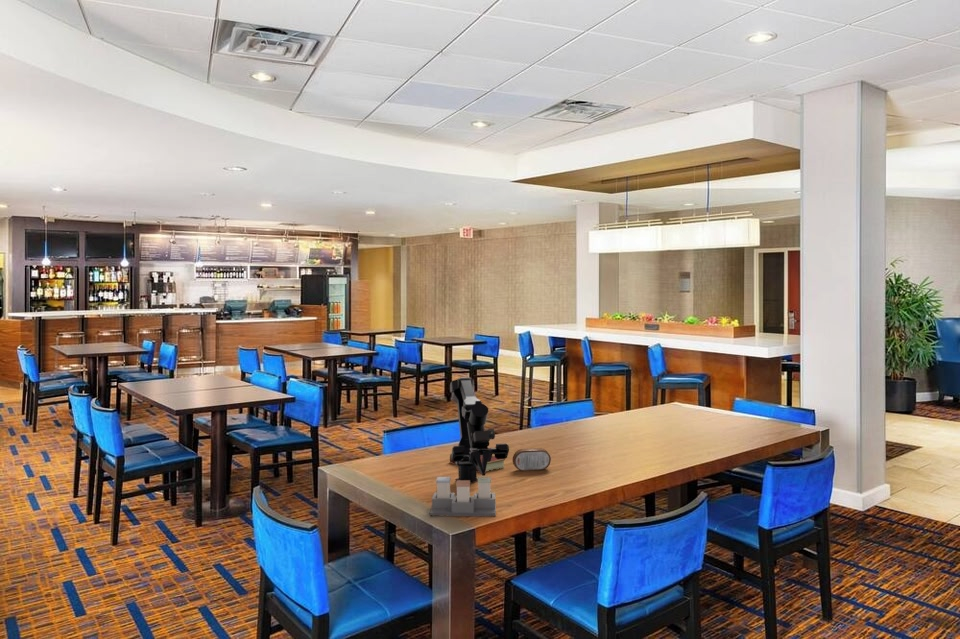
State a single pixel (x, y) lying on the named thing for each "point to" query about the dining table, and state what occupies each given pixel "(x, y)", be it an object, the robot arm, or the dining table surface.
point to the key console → (463, 506)
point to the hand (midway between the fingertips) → (483, 475)
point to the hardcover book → (490, 463)
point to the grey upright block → (443, 487)
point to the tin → (531, 459)
